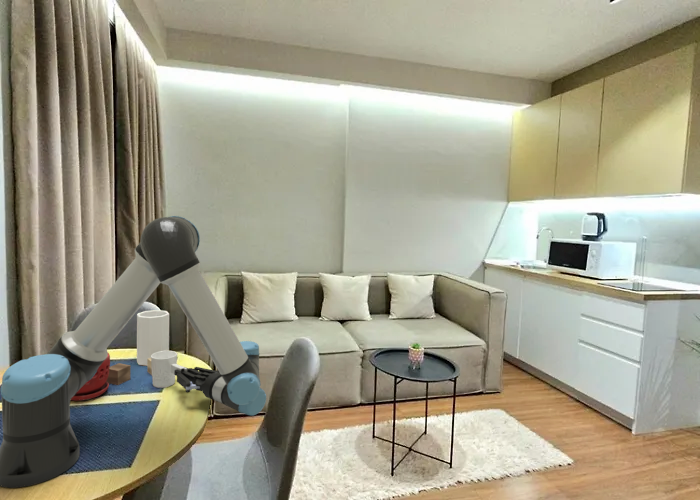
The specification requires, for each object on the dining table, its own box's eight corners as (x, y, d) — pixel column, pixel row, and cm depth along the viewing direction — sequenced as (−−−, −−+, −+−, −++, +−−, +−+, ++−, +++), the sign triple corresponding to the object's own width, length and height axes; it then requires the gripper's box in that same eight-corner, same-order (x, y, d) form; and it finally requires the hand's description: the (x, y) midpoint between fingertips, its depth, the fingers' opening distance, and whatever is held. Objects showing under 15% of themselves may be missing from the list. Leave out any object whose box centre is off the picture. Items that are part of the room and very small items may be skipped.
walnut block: (117, 385, 128) (117, 370, 128) (105, 382, 129) (105, 368, 129) (130, 379, 133) (130, 365, 132) (118, 377, 134) (118, 363, 134)
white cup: (145, 385, 129) (145, 356, 128) (164, 377, 136) (164, 349, 135) (163, 390, 126) (164, 360, 125) (182, 381, 133) (182, 353, 132)
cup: (147, 368, 142) (147, 319, 140) (130, 361, 148) (130, 313, 146) (175, 360, 152) (175, 313, 150) (157, 353, 157) (158, 308, 156)
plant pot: (87, 382, 129) (87, 347, 128) (119, 389, 125) (120, 352, 124) (47, 400, 116) (47, 361, 115) (82, 407, 113) (82, 367, 112)
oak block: (153, 376, 136) (153, 362, 136) (147, 372, 140) (147, 358, 139) (167, 372, 140) (167, 359, 139) (161, 368, 143) (161, 355, 143)
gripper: (202, 408, 111) (153, 385, 123) (237, 392, 122) (190, 372, 134) (202, 383, 110) (154, 362, 122) (238, 369, 121) (190, 351, 133)
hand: (172, 368), depth 128 cm, fingers closed
